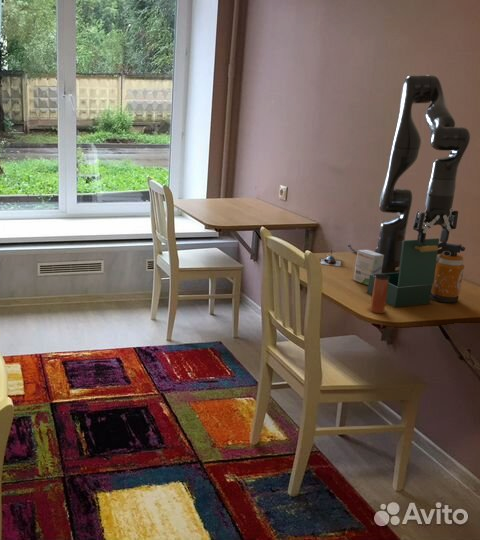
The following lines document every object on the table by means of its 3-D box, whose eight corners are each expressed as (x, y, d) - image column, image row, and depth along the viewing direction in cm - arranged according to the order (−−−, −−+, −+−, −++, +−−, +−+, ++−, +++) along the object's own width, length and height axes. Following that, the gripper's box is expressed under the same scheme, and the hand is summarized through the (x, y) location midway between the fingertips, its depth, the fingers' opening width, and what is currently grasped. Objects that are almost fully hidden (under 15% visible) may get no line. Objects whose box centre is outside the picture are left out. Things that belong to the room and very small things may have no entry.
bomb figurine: (320, 263, 248) (321, 251, 246) (321, 259, 254) (322, 246, 253) (340, 266, 245) (342, 253, 243) (341, 261, 252) (342, 248, 250)
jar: (367, 309, 199) (372, 274, 195) (378, 308, 200) (383, 273, 197) (375, 314, 195) (381, 278, 191) (387, 312, 196) (392, 277, 192)
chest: (367, 292, 215) (369, 274, 213) (399, 289, 218) (402, 271, 216) (395, 307, 201) (398, 287, 199) (429, 303, 205) (432, 284, 203)
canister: (456, 305, 203) (467, 248, 197) (420, 299, 209) (429, 243, 203) (458, 297, 210) (469, 242, 204) (423, 292, 216) (432, 237, 210)
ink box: (380, 285, 223) (384, 254, 219) (370, 286, 221) (374, 256, 217) (362, 278, 230) (366, 248, 226) (352, 280, 228) (356, 250, 224)
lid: (402, 240, 196) (413, 243, 191) (437, 238, 199) (449, 241, 194) (397, 286, 199) (408, 290, 195) (431, 283, 203) (443, 287, 198)
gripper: (450, 189, 193) (441, 238, 198) (412, 191, 189) (404, 241, 194) (469, 194, 186) (459, 244, 191) (430, 195, 182) (421, 247, 187)
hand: (432, 243), depth 192 cm, fingers open, 8 cm apart
